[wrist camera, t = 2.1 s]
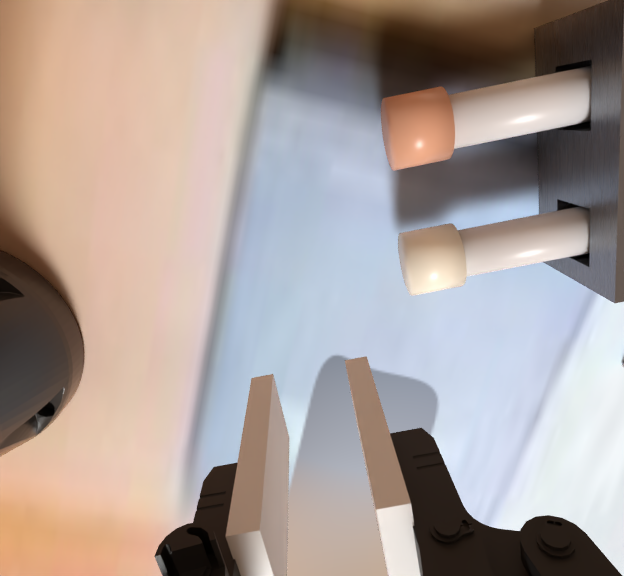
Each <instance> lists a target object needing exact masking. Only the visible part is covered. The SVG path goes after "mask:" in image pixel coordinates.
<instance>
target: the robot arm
mask: <svg viewBox="0 0 624 576" xmlns="http://www.w3.org/2000/svg"><path fill="white" fill-rule="evenodd" d="M345 364H346V369H347V374H348V379H349V385H350V390H351V395H352V400H353V406H354V411H355V416H356V421H357V426H358V431H359V436H360V441H361V445H362V451H363V455H364V461H365V465H366V470H367V475H368V480H369V485H370V490H371V495H372V500H373V504H374V509H375V514H376V519H377V523H378V528H379V533H380V538H381V543H382V548H383V553H384V558H385V563H386V567H387V573H388V576H622V575H621V574H620V573H619V572H618V570H617V569H616V568H615V567H614V566H613V565H612V563H611V562H610V561H609V560H608V559H607V558H606V556H605V555H604V554H603V553H602V552H601V551H600V549H599V548H598V547H597V546H596V545H595V544H594V542H593V541H592V540H591V539H590V538H589V537H588V535H587V534H586V533H585V532H584V531H582V530H581V529H580V528H579V527H578V526H577V525H575V524H574V523H572V522H569V521H567V520H565V519H563V518H559V517H554V516H549V515H548V516H538V517H534V518H532V519H531V520H529V521H527V522H526V523H525V524H524V526H523V527H522V528H521V531H513V530H503V529H497V528H492V527H489V526H487V525H484V524H482V523H480V522H478V521H477V520H475V519H474V518H473V517H472V516H471V515H470V514H469V513H468V512H467V511H466V509H465V508H464V506H463V504H462V502H461V499H460V497H459V495H458V493H457V490H456V488H455V486H454V483H453V481H452V479H451V477H450V474H449V472H448V470H447V467H446V465H445V463H444V460H443V458H442V456H441V454H440V451H439V449H438V447H437V444H436V442H435V440H434V438H433V437H432V436H431V435H429V434H428V433H427V432H426V431H425V430H423V429H422V428H418V429H412V430H407V431H401V432H396V433H390V432H389V429H388V426H387V423H386V419H385V416H384V412H383V409H382V406H381V403H380V399H379V396H378V393H377V389H376V386H375V383H374V380H373V376H372V373H371V370H370V366H369V363H368V360H367V356H366V357H361V358H356V359H350V360H345ZM83 365H84V350H83V343H82V338H81V334H80V331H79V328H78V325H77V323H76V321H75V318H74V316H73V314H72V312H71V311H70V309H69V307H68V306H67V304H66V303H65V301H64V300H63V298H62V297H61V296H60V295H59V293H58V292H57V291H56V290H55V289H54V288H53V286H52V285H51V284H50V283H49V282H48V281H47V280H45V279H44V278H43V277H42V276H41V275H40V274H39V273H37V272H36V271H35V270H33V269H32V268H31V267H29V266H28V265H26V264H25V263H23V262H22V261H20V260H18V259H16V258H15V257H13V256H11V255H9V254H7V253H5V252H2V251H0V456H2V455H4V454H6V453H7V452H9V451H11V450H13V449H14V448H16V447H18V446H20V445H22V444H23V443H25V442H27V441H29V440H30V439H32V438H34V437H35V436H37V435H38V434H40V433H41V432H42V431H43V430H45V429H46V428H47V427H48V426H49V425H50V424H51V423H52V422H53V421H54V420H55V419H56V418H57V417H58V415H59V414H60V413H61V412H62V410H63V409H64V408H65V407H66V405H67V404H68V403H69V401H70V400H71V399H72V397H73V396H74V394H75V392H76V390H77V388H78V386H79V383H80V380H81V377H82V372H83ZM288 486H289V435H288V431H287V427H286V423H285V419H284V415H283V411H282V407H281V404H280V400H279V396H278V392H277V388H276V384H275V380H274V376H273V374H271V375H266V376H260V377H255V378H252V379H251V385H250V391H249V397H248V403H247V409H246V415H245V421H244V428H243V434H242V440H241V446H240V452H239V458H238V463H233V464H228V465H222V466H217V467H213V469H212V470H211V472H210V473H209V474H208V476H207V477H206V479H205V480H204V481H203V485H202V489H201V493H200V499H199V501H198V505H197V511H196V513H195V517H194V521H193V523H190V524H186V525H184V526H181V527H179V528H177V529H175V530H174V531H173V532H171V533H170V534H169V535H168V536H166V538H165V539H164V540H163V541H162V543H161V544H160V545H159V547H158V549H157V552H156V554H155V558H156V561H157V563H158V566H159V568H160V570H161V573H162V575H163V576H287V546H288V545H287V544H288V541H287V540H288Z"/></svg>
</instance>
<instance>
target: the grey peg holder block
mask: <svg viewBox="0 0 624 576" xmlns="http://www.w3.org/2000/svg"><path fill="white" fill-rule="evenodd" d="M534 30H535V68H536V77H538V76H543V75H548V74H553V73H558V72H563V71H567V70H572V69H577V68H582V67H587V66H592V82H591V121H589V122H584V123H580V124H575V125H570V126H565V127H560V128H555V129H550V130H545V131H540V132H537V143H538V181H539V214H544V213H549V212H554V211H559V210H564V209H569V208H574V207H579V206H582V207H585V208H588V209H590V253H586V254H581V255H576V256H571V257H566V258H561V259H555V260H550V261H545V262H544V263H546V264H547V265H549V266H551V267H553V268H554V269H556V270H558V271H560V272H561V273H563V274H565V275H567V276H568V277H570V278H572V279H574V280H575V281H577V282H579V283H580V284H582V285H584V286H586V287H587V288H589V289H591V290H593V291H594V292H596V293H598V294H600V295H601V296H603V297H605V298H607V299H608V300H610V301H612V302H614V303H618V302H624V0H609V1H606V2H603V3H601V4H598V5H595V6H593V7H590V8H587V9H585V10H582V11H580V12H577V13H574V14H572V15H569V16H566V17H564V18H561V19H558V20H556V21H553V22H550V23H548V24H545V25H542V26H540V27H537V28H535V29H534Z"/></svg>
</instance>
